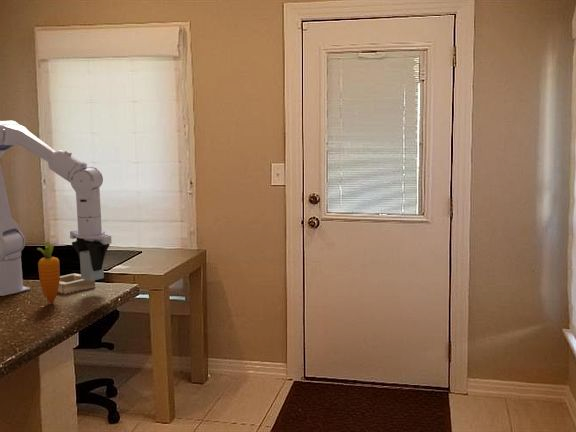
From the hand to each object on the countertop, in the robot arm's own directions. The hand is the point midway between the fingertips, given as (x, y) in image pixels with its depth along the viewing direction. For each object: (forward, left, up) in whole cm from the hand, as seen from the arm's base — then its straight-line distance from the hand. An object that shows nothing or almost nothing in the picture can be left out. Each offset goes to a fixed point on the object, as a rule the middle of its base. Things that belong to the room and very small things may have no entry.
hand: (92, 269), depth 165 cm
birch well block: (-10, 0, -6) cm, 12 cm away
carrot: (-1, -11, -7) cm, 13 cm away
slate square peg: (0, 0, -2) cm, 2 cm away
